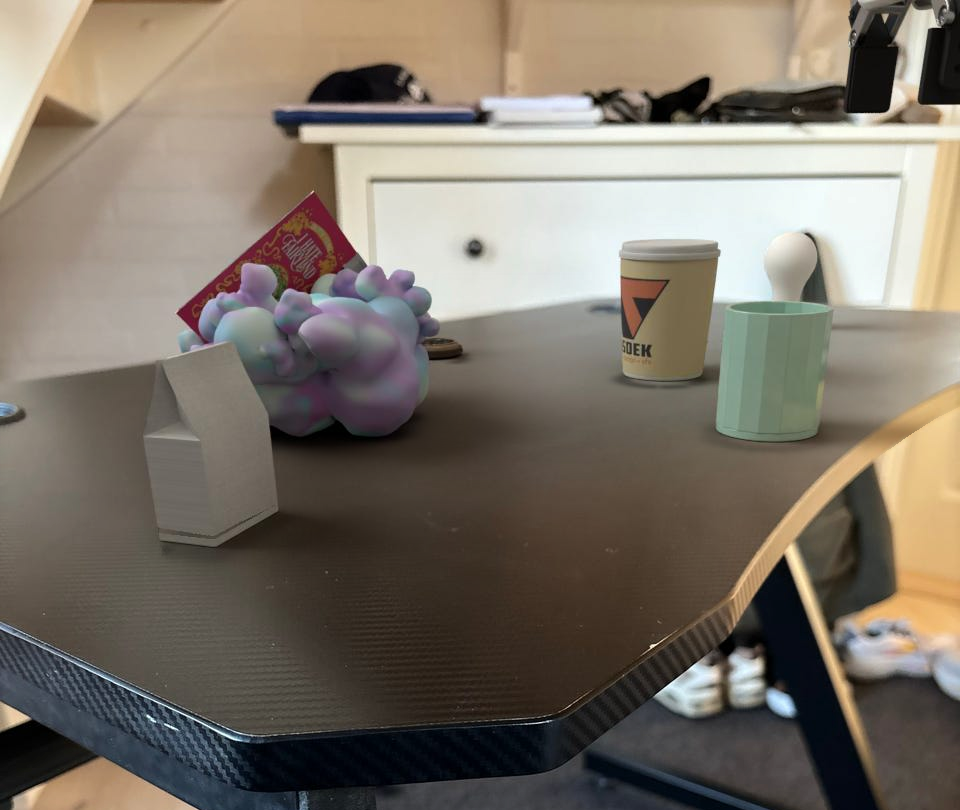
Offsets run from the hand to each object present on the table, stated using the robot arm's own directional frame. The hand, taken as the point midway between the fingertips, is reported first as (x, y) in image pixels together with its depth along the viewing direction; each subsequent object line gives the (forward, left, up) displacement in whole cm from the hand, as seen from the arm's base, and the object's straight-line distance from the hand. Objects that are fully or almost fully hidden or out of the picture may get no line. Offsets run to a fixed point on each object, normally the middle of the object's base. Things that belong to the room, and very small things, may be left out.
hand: (902, 109), depth 66 cm
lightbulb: (+2, -55, -22) cm, 59 cm away
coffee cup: (+15, -24, -22) cm, 36 cm away
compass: (+41, -33, -22) cm, 57 cm away
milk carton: (+38, +26, -22) cm, 52 cm away
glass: (+6, -2, -22) cm, 23 cm away
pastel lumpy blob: (+42, +1, -22) cm, 48 cm away
